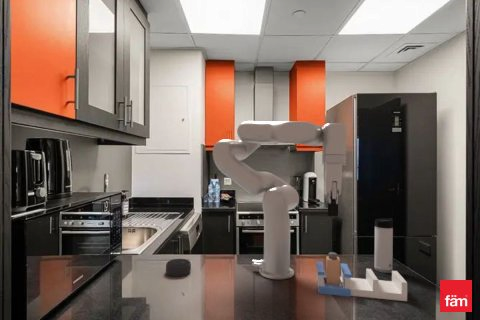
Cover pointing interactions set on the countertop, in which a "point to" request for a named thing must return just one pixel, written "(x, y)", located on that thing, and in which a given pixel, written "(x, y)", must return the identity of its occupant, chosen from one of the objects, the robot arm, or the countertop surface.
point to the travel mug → (383, 245)
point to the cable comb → (363, 285)
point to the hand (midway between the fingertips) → (332, 215)
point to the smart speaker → (178, 267)
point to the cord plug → (332, 269)
